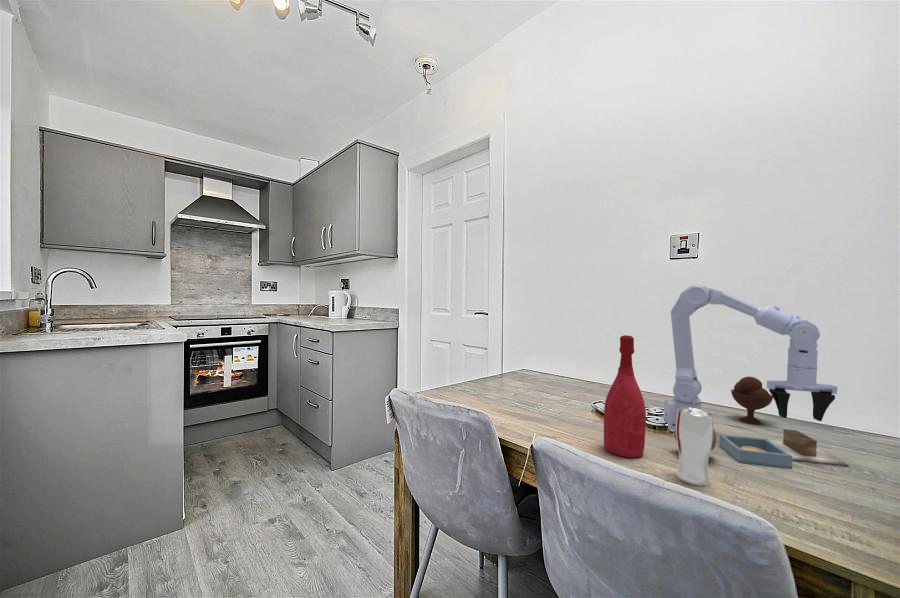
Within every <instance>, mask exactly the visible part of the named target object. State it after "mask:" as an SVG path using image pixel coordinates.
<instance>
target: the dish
mask: <svg viewBox="0 0 900 598" xmlns="http://www.w3.org/2000/svg"><path fill="white" fill-rule="evenodd" d="M768 440H769V439H767V438H766V439H765V438H758V437H757V438H756V437H745V436H737V435H726V434H719V443H718V446H719V447H720V448H721V449H723V450H724V451H725V452H726V453H727V454H728V455H730V456H731V457H732V458H733V459H734V460H735V461H737V463H740V464H751V465H758V466H765V467H777V468H784V469H793V461H792V455H790V454H789V453H787V452H786V451H784V450H782V449H781V448H779V447H778V446H776V445H775V444H773V443H772V442H770V441H768Z"/></svg>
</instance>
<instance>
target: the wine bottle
mask: <svg viewBox="0 0 900 598" xmlns="http://www.w3.org/2000/svg"><path fill="white" fill-rule="evenodd" d="M619 341H620V342H619V350H618V351H619V353H620V362H619V367H618V369H617V374H616V377H615V378H614V381H613V382H612V384H611V386H610V388H609V390H608V392H607V394H606V398H605V401H604V407H603V446H604V448H605V450H607V451H608V452H609V453H611V454H614V455H616V456H618V457H624V458H639V457H641V456H642V455H643V454H644V452H645V443H646V424H647V411H646V410H647V409H646V404H645V401H644V396H643V394H642V391H641V389H640V386H639V384H638V381H637V379H636V377H635V372H634V367H633V356H632V355H633V354H634V353H635V339H634V337H633V336H632V335H627V334H626V335H621V336H620V338H619Z"/></svg>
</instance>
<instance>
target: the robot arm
mask: <svg viewBox="0 0 900 598" xmlns="http://www.w3.org/2000/svg"><path fill="white" fill-rule="evenodd" d="M707 305H722V306H725V307H728V308H730V309H733V310H736V311H738V312H740V313H743V314H745V315H747V316H750V317H752V318H754V321H755V324H756V325H758V326H761V327H763V328H765V329H767V330H770V331H772V332H775V333H777V334H779V335H782V336H788V337H789V338H790V339H789V347H788V348H787V366H786V368H787V369H786V371H787V372H786V380H766V388H767V389H768V392H769V394H771V395H772V396H773V400H774V402H775V405H776V408H777V411H778V412H777V413H778V415H779V417H780V418H783V419H787V418H788V417H787V416H788V404H789V401H790V397H791V393H789V392H787V391H800V392H809V393H810V395H811V399H812V419H813V420H815V421H818V422H822V421H823V418H824V416H825V413H826V411H827V410H828V408H829V406H830V405H831V404H832V403H833V402H834V401H835V400H836V395H837V394H838V386H836V385H834V384H825V383H817V376H818V373H817V372H818V353H819V352H818V350H817V348H818V342H817V341H819V339H820V337H821V333H820V330H819V328H818V327H817V325H815V324H814V323H811V322H810V321H808V320H806V319H802V317H801V316H799V315H792V314H790V313H789V312H788V313H787V312H785V311H783V310H780V309H781V308H780V307H778V306H776V305H774V306H770V305H766V306H762V307H759V306H757V305H755V304H753V303H750V302H748V301H746V300H745V299H742V298H739V297H737V296H735V295H733V294H730V293H728V292H725V291H723V290H718V289H714V288H711V287H708V286H704V285H701V284H694V285H690V286H688V287H687V288H686V289H684V290H682V292H681V293H680V295H679V297H678V299H677V300H676V302H675V303H674V305H673V307H672V308H671V310H670V319H671V328H672V340H673V349H674V358H675V368H676V370H675V376H674V378H675V382H674V385H673V387H672V393H673V397H672V398H665V400H664V402H663V420H664V422H665V423H667V424H668V428H667V430H668V431H669V432H671V433H672V432H673V433H674V432H675V430H676V420H677V413H678V408H682V407H688V408H697V409H702V400H701V399H700V398H699V395H700V394H701V392H702V384H701V382H700V381H699V379H698V377H697V371H696V368H695V367H696V366H695V359H694V349H693V340H692V329H691V320H690V317H691V316H692V315H693V314H694V313H696V311H697V310H699V309H701V308H703V307H705V306H707Z"/></svg>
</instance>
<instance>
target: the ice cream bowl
mask: <svg viewBox="0 0 900 598" xmlns="http://www.w3.org/2000/svg"><path fill="white" fill-rule="evenodd" d="M730 392H731V397H733V400H734V401H735V402H736V404H738V405H739V406H741V407H743V408H744V409H746V411H747V412H746V413H747V415H745V416H743V417H740V419H739V420H740V422H743V423H745V422H746V424H750V423H751V425H761V424H762V423H761V420H759V419H758V418H756V417H755V411H757V410H762V409H764V408H766V407H768V406H770V405H771V403H772V401H773V400H774V398H773V396H772V394H771V393H770V392H769V391H768V390H767V389H765V388H763V382H761V380H759V379H758V378H756V377H754V376H744V377H743V378H741V379H739V381H737V382H736V383H735V385H734V386H733V388H732V389H730Z"/></svg>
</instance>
